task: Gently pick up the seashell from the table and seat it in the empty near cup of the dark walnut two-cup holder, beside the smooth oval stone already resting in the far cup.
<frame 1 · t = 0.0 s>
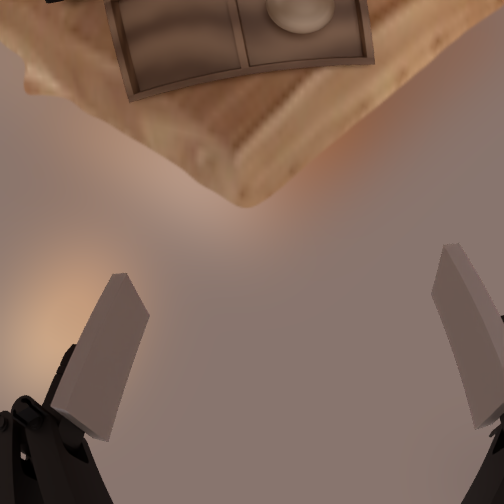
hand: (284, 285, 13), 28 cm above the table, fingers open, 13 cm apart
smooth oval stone: (298, 7, 26), point 1 cm above the table, touching holder
holder: (237, 16, 27), on the table
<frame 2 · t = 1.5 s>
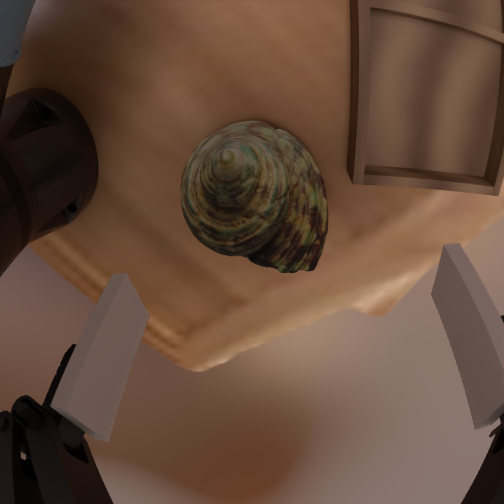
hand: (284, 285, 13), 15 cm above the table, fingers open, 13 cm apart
seashell: (263, 175, 26), on the table
holder: (436, 20, 16), on the table
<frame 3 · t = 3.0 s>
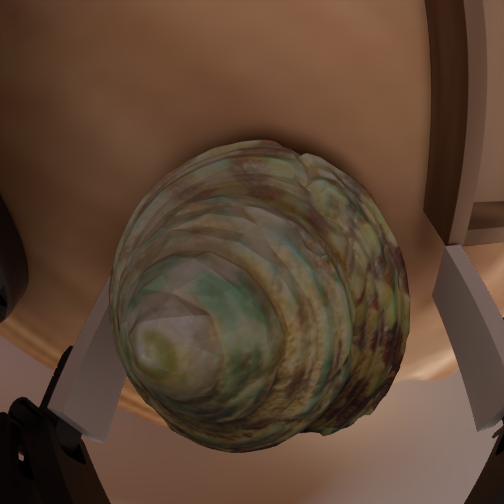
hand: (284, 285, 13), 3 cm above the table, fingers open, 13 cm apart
seashell: (276, 233, 15), on the table
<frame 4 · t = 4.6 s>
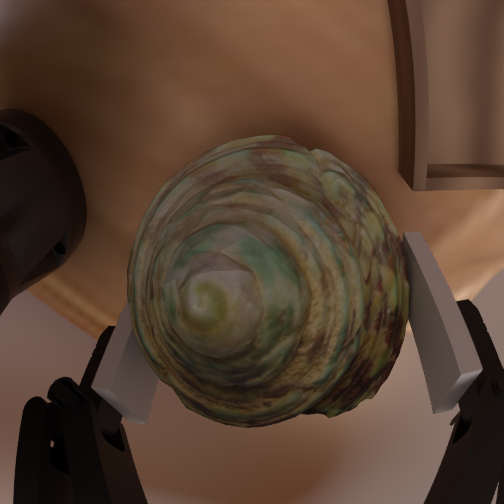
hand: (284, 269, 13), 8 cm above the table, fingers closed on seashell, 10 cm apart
seashell: (282, 226, 15), point 5 cm above the table, touching gripper
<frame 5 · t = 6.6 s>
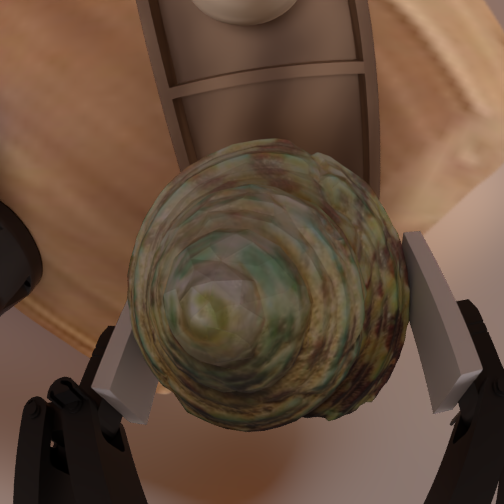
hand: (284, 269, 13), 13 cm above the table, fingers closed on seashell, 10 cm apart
seashell: (282, 229, 15), point 10 cm above the table, touching gripper
holder: (266, 71, 20), on the table
when the fingers open (4 cm above the table, at t = 8.7 s): seashell stays where it is, resting on holder.
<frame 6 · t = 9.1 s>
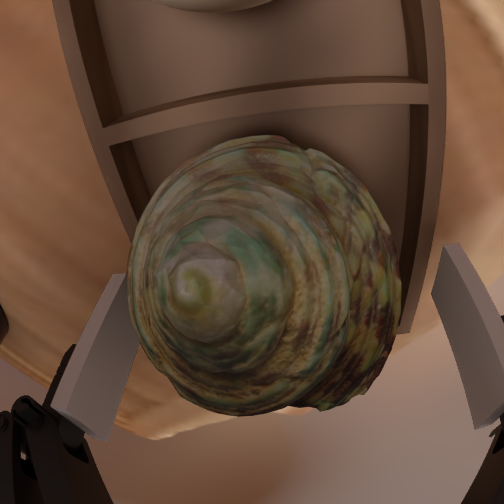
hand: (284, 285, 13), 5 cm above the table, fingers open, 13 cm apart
seashell: (279, 224, 16), point 1 cm above the table, touching holder
holder: (263, 90, 12), on the table
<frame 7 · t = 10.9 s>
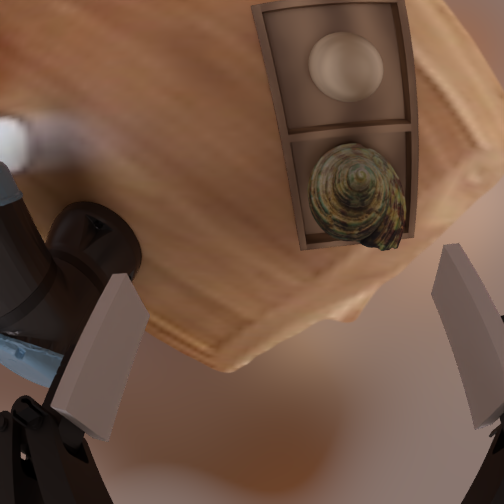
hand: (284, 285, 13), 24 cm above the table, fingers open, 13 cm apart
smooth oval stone: (339, 63, 26), point 1 cm above the table, touching holder
seashell: (351, 181, 34), point 1 cm above the table, touching holder
holder: (347, 123, 30), on the table
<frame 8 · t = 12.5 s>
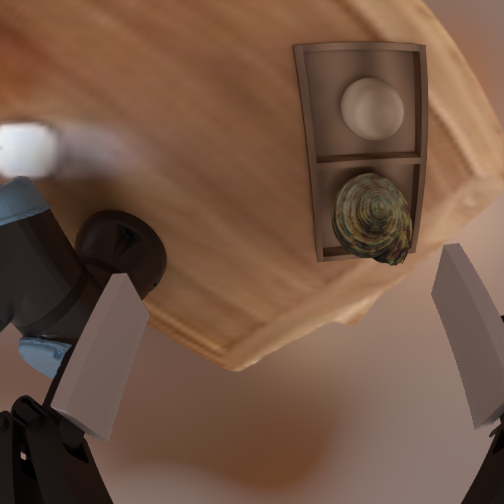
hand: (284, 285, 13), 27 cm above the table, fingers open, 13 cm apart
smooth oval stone: (364, 102, 31), point 1 cm above the table, touching holder
seashell: (365, 203, 39), point 1 cm above the table, touching holder
holder: (365, 154, 35), on the table
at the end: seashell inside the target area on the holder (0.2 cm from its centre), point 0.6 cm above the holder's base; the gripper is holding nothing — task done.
